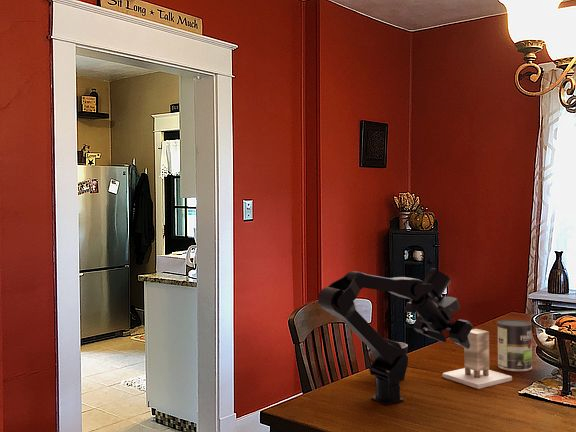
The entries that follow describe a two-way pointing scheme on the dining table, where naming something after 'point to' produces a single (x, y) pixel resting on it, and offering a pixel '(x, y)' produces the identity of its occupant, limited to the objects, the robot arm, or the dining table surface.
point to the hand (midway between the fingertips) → (457, 344)
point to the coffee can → (514, 345)
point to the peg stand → (477, 377)
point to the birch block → (477, 350)
